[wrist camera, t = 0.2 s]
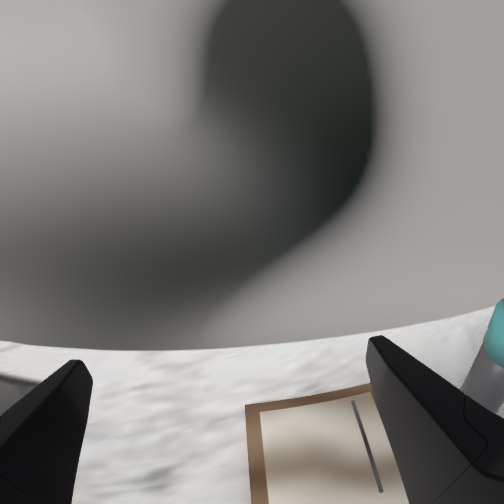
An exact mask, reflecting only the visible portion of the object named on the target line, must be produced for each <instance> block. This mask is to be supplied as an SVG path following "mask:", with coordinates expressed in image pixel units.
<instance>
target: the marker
mask: <svg viewBox="0 0 504 504" xmlns="http://www.w3.org/2000/svg"><path fill="white" fill-rule="evenodd" d="M460 390H461V391H462V392H463V393H464V394H465V395H468V396H469V397H471V398H472V399H473V400H475V401H476V402H478V403H479V404H481V405H482V406H484V407H485V408H487V409H488V410H490V411H492V412H493V413H496V412H497V411H498V409H499V408H500V407H501V405H502V404H503V402H504V299H502V300H500V301H499V302H498V303H497V305H496V307H495V309H494V312H493V315H492V317H491V320H490V323H489V325H488V329H487V331H486V333H485V336H484V340H483V344H482V346H481V348H480V350H479V353H478V355H477V357H476V359H475V361H474V363H473V365H472V367H471V369H470V371H469V373H468V375H467V377H466V379H465V381H464V383H463V385H462V387H461V388H460Z"/></svg>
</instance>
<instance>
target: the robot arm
mask: <svg viewBox="0 0 504 504" xmlns="http://www.w3.org/2000/svg"><path fill="white" fill-rule="evenodd" d="M366 365H367V369H368V373H369V377H370V381H371V385H372V389H373V394H374V398H375V402H376V406H377V409H378V412H379V415H380V418H381V420H382V423H383V426H384V429H385V432H386V434H387V437H388V440H389V443H390V446H391V449H392V452H393V455H394V458H395V461H396V464H397V467H398V470H399V473H400V476H401V479H402V482H403V485H404V488H405V492H406V495H407V498H408V501H409V504H504V418H502V417H500V416H498V415H497V414H495V413H493V412H492V411H490V410H488V409H487V408H485V407H484V406H482V405H481V404H479V403H478V402H476V401H475V400H473V399H472V398H471V397H469V396H468V395H465V394H464V393H463V392H462V391H461V390H459V389H458V388H456V387H455V386H454V385H452V384H451V383H449V382H448V381H447V380H445V379H444V378H442V377H441V376H440V375H438V374H437V373H435V372H434V371H433V370H431V369H430V368H428V367H427V366H425V365H424V364H423V363H421V362H420V361H418V360H417V359H416V358H414V357H413V356H411V355H410V354H409V353H407V352H406V351H404V350H403V349H401V348H400V347H399V346H397V345H396V344H394V343H393V342H392V341H390V340H389V339H387V338H386V337H384V336H382V335H380V336H375V337H371V338H369V340H368V346H367V353H366ZM92 386H93V379H92V376H91V374H90V373H89V371H88V369H87V368H86V366H85V364H84V363H83V361H81V360H70V361H68V362H67V363H66V364H64V365H63V366H62V367H61V368H59V369H58V370H57V371H55V372H54V373H53V374H52V375H50V376H49V377H48V378H47V379H45V380H44V381H43V382H42V383H40V384H39V385H38V386H37V387H35V388H34V389H33V390H31V391H30V392H29V393H28V394H26V395H25V396H24V397H23V398H21V399H20V400H19V401H18V402H17V403H15V404H14V405H13V406H12V407H10V408H9V409H8V410H7V411H6V412H4V413H3V414H2V416H0V504H71V503H72V496H73V490H74V484H75V478H76V472H77V467H78V462H79V457H80V452H81V447H82V443H83V438H84V434H85V429H86V425H87V419H88V413H89V406H90V399H91V392H92Z"/></svg>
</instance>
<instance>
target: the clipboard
mask: <svg viewBox="0 0 504 504" xmlns="http://www.w3.org/2000/svg"><path fill="white" fill-rule="evenodd" d="M245 415H246V431H247V446H248V461H249V475H250V489H251V503H252V504H409V501H408V498H407V495H406V492H405V488H404V485H403V482H402V479H401V476H400V473H399V470H398V467H397V464H396V461H395V458H394V455H393V452H392V449H391V446H390V443H389V440H388V437H387V434H386V432H385V429H384V426H383V423H382V420H381V418H380V415H379V412H378V409H377V406H376V402H375V398H374V394H373V389H372V385H371V383H369V384H365V385H361V386H356V387H352V388H347V389H343V390H338V391H333V392H328V393H323V394H317V395H312V396H306V397H300V398H294V399H288V400H281V401H274V402H266V403H258V404H249V405H245Z"/></svg>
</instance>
